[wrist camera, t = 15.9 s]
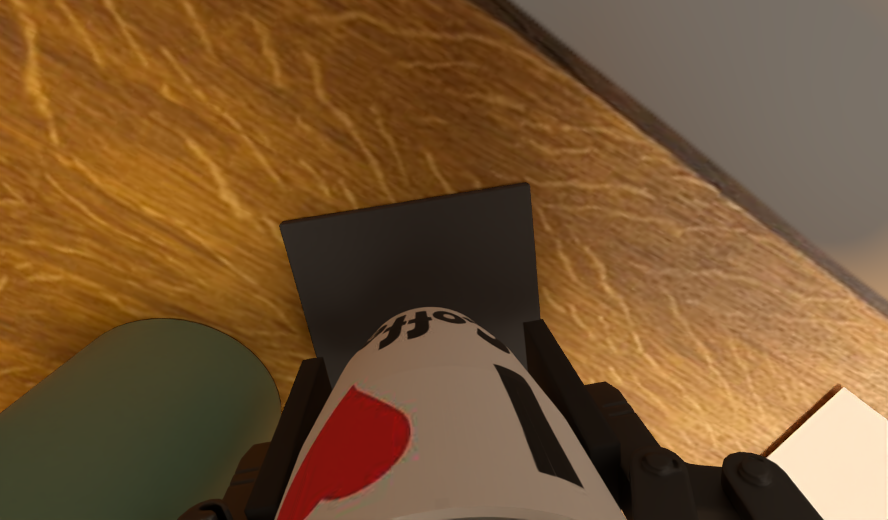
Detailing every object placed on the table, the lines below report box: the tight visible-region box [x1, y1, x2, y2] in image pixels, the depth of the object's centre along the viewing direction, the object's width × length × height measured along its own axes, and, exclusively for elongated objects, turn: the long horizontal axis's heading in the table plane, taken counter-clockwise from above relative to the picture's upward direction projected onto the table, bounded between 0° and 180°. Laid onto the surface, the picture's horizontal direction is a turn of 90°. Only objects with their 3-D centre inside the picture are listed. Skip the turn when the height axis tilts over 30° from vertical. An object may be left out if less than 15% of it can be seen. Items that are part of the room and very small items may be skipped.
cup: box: [274, 307, 626, 520], centre depth 13 cm, size 8×8×10 cm
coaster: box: [279, 182, 540, 390], centre depth 21 cm, size 11×11×1 cm
